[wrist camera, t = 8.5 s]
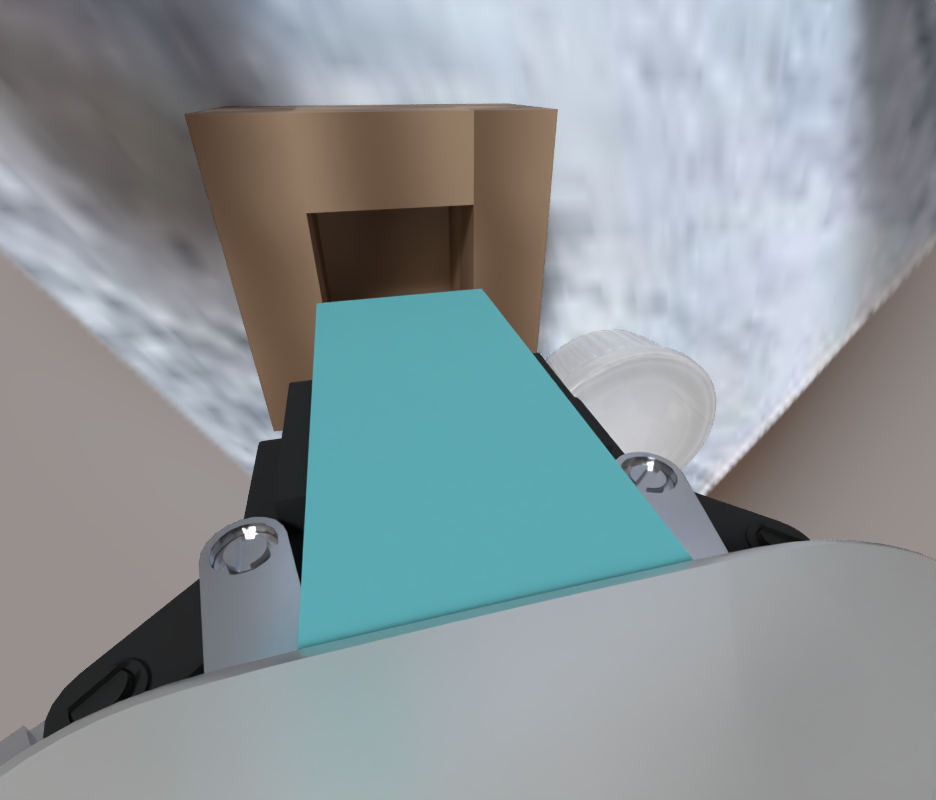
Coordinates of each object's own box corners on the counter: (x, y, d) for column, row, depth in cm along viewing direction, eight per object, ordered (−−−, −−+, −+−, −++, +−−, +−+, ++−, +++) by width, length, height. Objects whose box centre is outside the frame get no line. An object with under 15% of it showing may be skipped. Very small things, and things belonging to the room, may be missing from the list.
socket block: (507, 103, 22) (557, 109, 17) (498, 343, 28) (532, 397, 23) (222, 106, 19) (184, 114, 14) (285, 366, 26) (274, 431, 21)
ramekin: (473, 406, 30) (495, 460, 26) (606, 275, 28) (655, 310, 23) (575, 479, 36) (607, 532, 32) (694, 377, 33) (747, 420, 29)
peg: (481, 288, 14) (887, 809, 4) (480, 419, 16) (722, 942, 6) (316, 303, 13) (275, 1041, 3) (341, 439, 15) (367, 1089, 5)
